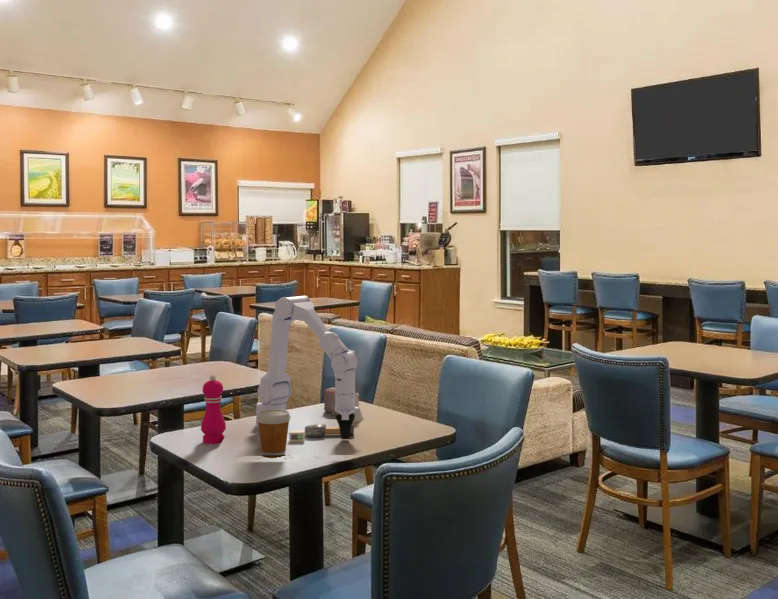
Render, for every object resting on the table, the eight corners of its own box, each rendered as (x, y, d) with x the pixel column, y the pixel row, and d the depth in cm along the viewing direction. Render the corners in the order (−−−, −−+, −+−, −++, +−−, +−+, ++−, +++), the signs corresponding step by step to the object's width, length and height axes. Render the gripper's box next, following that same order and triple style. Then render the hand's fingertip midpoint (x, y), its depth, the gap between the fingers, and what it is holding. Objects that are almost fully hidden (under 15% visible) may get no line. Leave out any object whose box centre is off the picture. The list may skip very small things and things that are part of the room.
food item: (362, 416, 262) (362, 387, 262) (344, 419, 257) (343, 390, 256) (338, 409, 273) (338, 381, 272) (320, 412, 268) (320, 384, 267)
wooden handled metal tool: (304, 438, 227) (304, 427, 227) (305, 433, 233) (305, 423, 233) (354, 437, 228) (354, 427, 228) (353, 432, 234) (353, 422, 234)
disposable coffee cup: (267, 448, 221) (267, 407, 220) (296, 452, 218) (296, 410, 217) (249, 457, 212) (249, 415, 211) (280, 461, 209) (279, 418, 208)
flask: (366, 421, 255) (366, 391, 254) (363, 427, 247) (363, 396, 247) (344, 421, 255) (344, 391, 254) (341, 426, 248) (341, 395, 247)
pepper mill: (231, 440, 230) (230, 374, 228) (213, 446, 224) (212, 378, 222) (214, 437, 234) (213, 372, 232) (196, 442, 228) (194, 375, 226)
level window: (289, 443, 223) (289, 433, 222) (289, 440, 226) (289, 430, 226) (304, 443, 223) (304, 433, 223) (304, 440, 226) (304, 430, 226)
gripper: (359, 397, 217) (359, 445, 218) (358, 387, 232) (358, 432, 233) (334, 398, 217) (334, 445, 218) (334, 388, 231) (334, 432, 232)
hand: (345, 438), depth 225 cm, fingers closed
